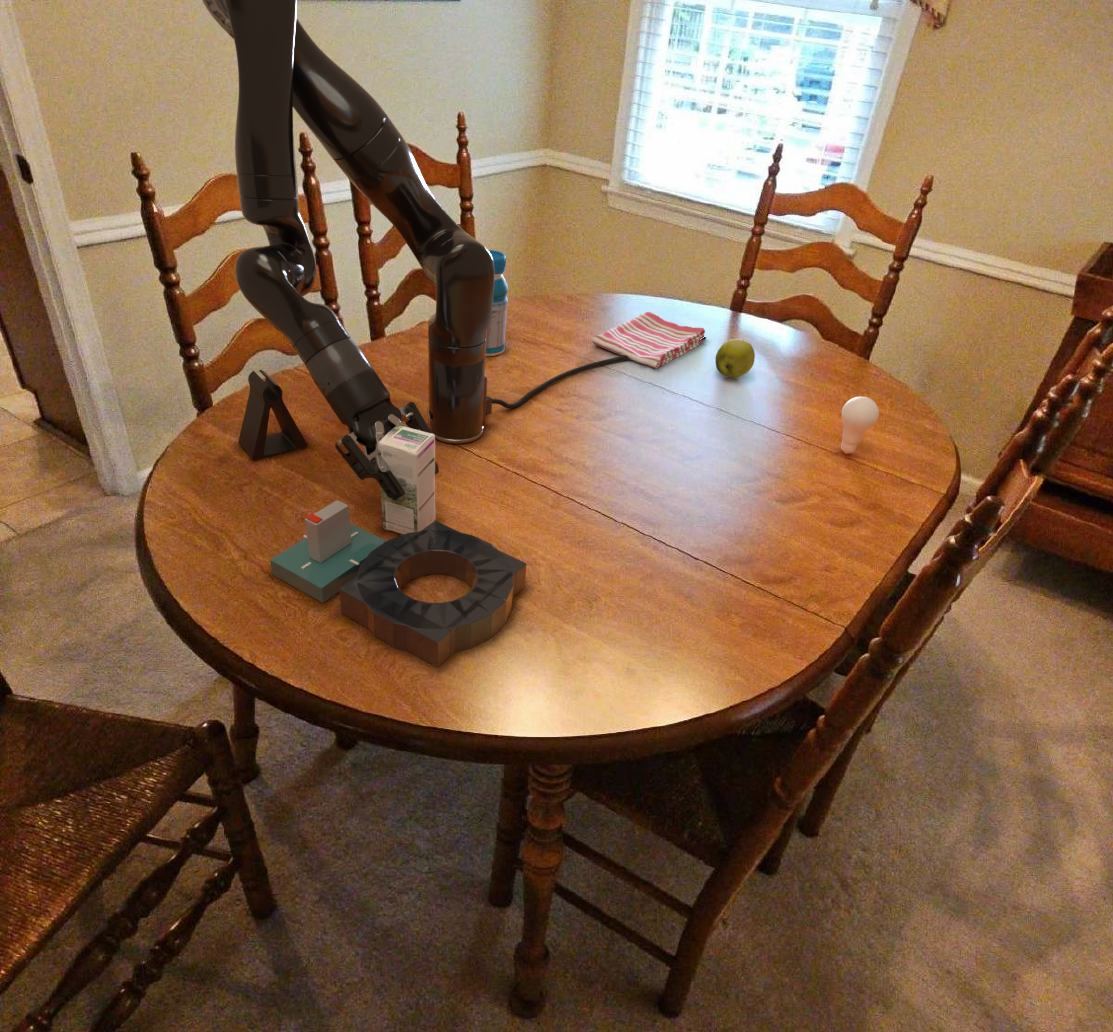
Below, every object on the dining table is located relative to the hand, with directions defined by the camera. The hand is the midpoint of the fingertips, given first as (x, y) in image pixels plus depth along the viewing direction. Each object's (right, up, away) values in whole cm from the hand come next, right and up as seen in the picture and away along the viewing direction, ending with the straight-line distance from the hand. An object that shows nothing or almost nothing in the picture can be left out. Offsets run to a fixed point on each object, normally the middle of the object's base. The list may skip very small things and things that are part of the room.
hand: (417, 485), depth 105 cm
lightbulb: (+72, +7, +35) cm, 80 cm away
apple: (+56, +25, +58) cm, 85 cm away
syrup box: (-2, -6, +5) cm, 8 cm away
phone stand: (-27, +7, +19) cm, 34 cm away
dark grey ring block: (+4, -15, -7) cm, 17 cm away
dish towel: (+40, +34, +69) cm, 87 cm away
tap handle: (-10, -8, -5) cm, 14 cm away
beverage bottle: (+4, +31, +58) cm, 66 cm away
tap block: (-11, -11, -4) cm, 15 cm away
